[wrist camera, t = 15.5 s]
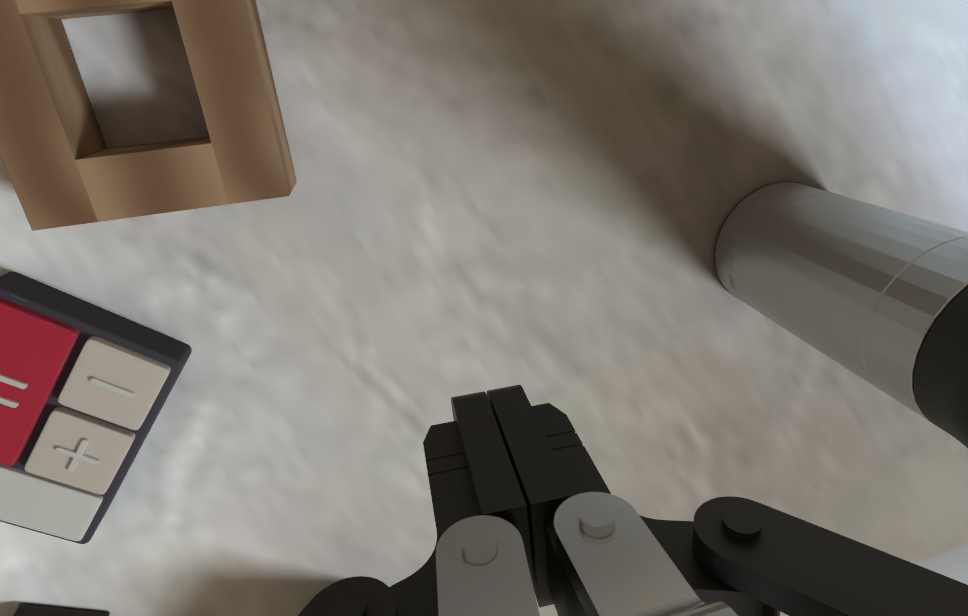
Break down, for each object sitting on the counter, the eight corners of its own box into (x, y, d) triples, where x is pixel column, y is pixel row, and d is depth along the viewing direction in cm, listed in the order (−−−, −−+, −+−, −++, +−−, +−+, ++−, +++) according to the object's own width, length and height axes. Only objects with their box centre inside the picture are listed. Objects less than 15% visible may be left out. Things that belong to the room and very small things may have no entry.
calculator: (181, 369, 36) (81, 555, 38) (197, 340, 40) (106, 511, 42) (-25, 286, 32) (-119, 500, 34) (16, 263, 36) (-71, 457, 38)
